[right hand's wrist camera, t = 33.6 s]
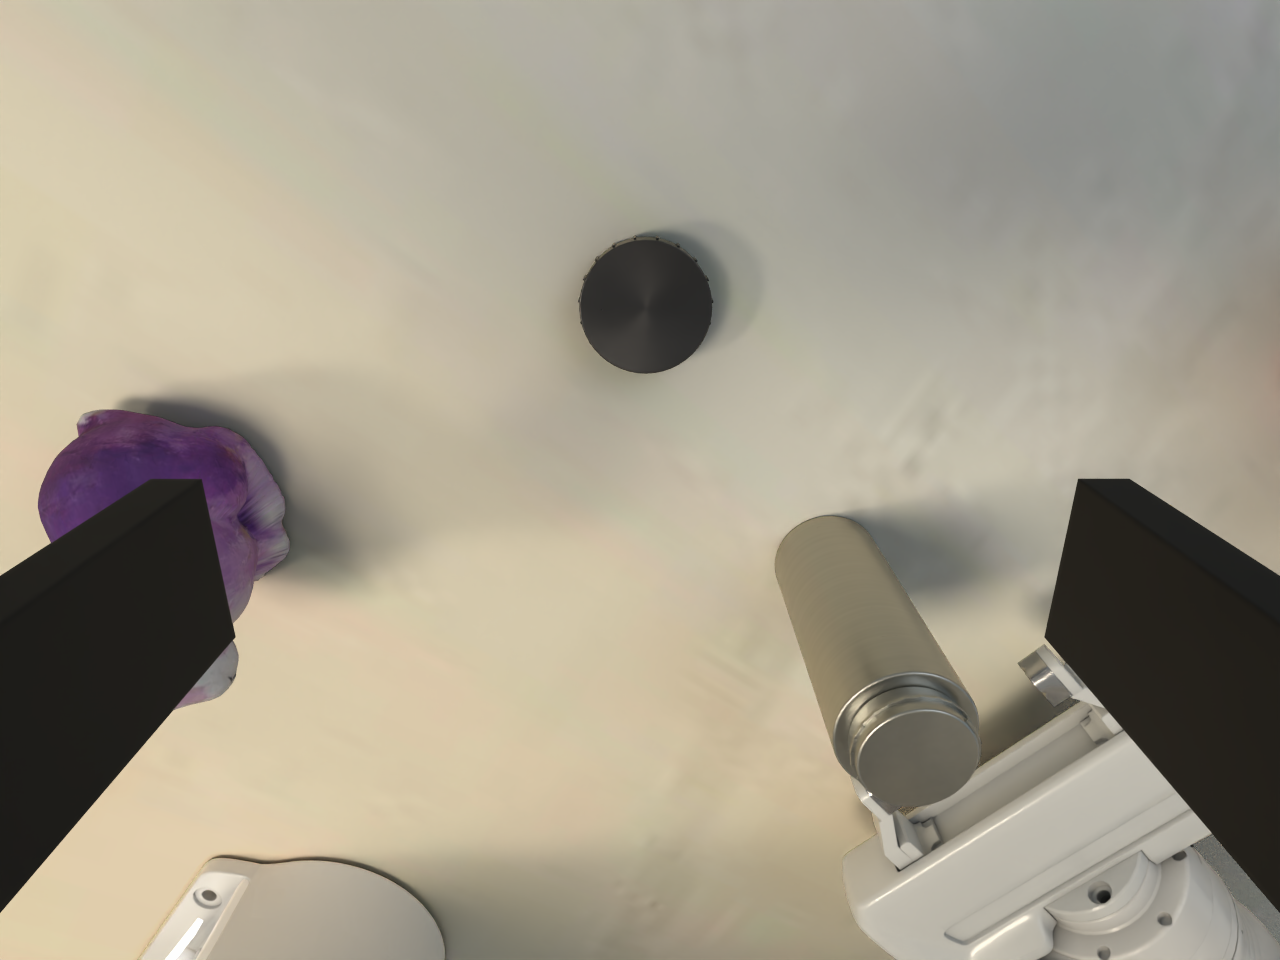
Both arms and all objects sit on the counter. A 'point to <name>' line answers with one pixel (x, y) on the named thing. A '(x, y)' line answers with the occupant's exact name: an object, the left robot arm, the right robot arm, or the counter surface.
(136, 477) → the figurine
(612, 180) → the counter surface
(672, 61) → the counter surface
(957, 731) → the thermos bottle
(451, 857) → the counter surface
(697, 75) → the counter surface
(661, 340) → the lid
